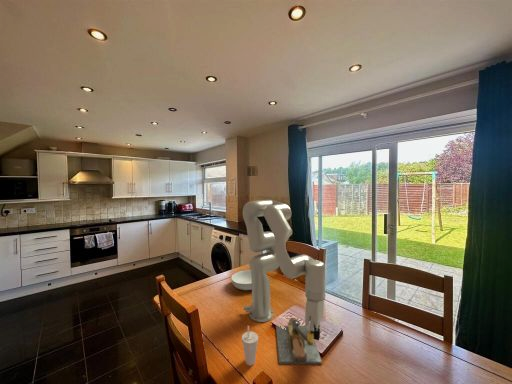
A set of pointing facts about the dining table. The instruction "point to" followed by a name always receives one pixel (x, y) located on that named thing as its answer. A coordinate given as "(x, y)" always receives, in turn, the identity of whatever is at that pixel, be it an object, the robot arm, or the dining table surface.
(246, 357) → the smoothie
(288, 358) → the valve body
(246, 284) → the serving bowl
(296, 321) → the lever
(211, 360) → the dining table surface
